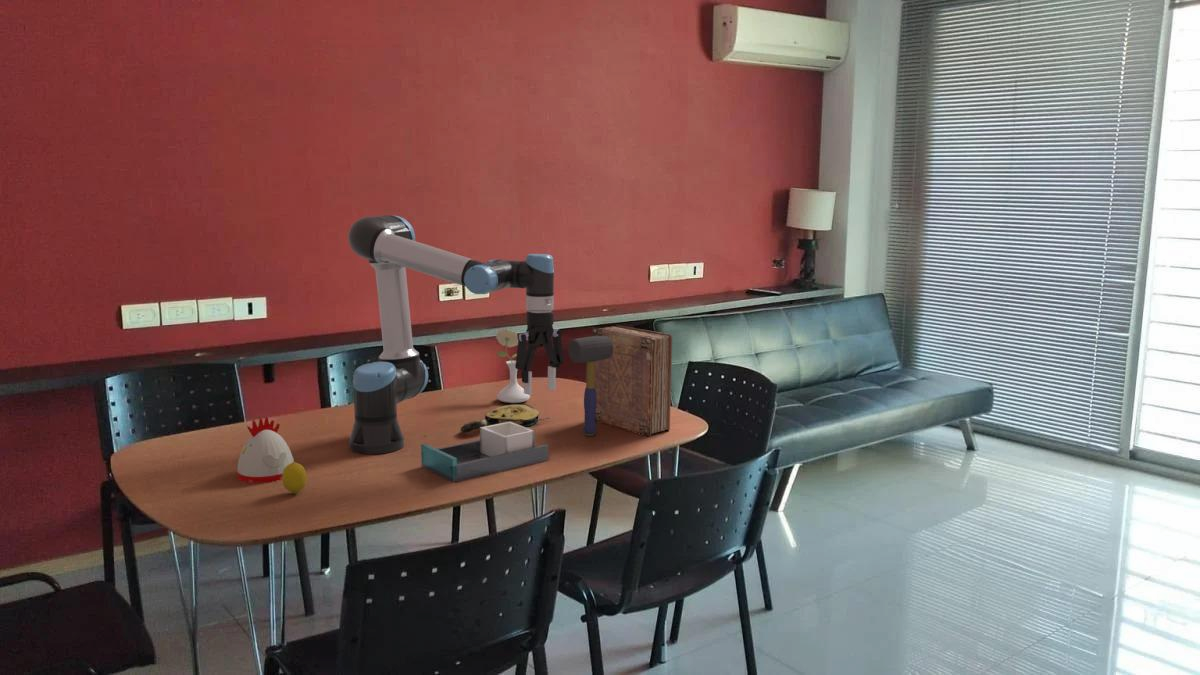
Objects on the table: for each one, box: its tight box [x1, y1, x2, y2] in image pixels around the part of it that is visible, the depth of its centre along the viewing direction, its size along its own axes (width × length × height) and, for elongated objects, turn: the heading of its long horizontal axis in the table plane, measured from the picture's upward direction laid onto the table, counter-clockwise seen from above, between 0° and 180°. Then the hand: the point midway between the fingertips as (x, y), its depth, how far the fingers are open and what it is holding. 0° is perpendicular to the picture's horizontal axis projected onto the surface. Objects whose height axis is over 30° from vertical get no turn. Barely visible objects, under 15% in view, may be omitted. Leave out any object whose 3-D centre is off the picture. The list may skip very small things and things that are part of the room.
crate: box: [479, 422, 536, 457], centre depth 246 cm, size 10×12×7 cm
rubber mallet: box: [567, 336, 613, 437], centre depth 267 cm, size 12×8×30 cm, turn 124°
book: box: [591, 324, 673, 437], centre depth 278 cm, size 25×9×30 cm, turn 44°
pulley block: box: [459, 402, 550, 433], centre depth 278 cm, size 14×6×30 cm
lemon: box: [281, 461, 308, 495], centre depth 217 cm, size 6×6×8 cm
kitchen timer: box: [236, 416, 295, 484], centre depth 230 cm, size 14×14×15 cm
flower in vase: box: [495, 328, 531, 404], centre depth 307 cm, size 13×11×25 cm
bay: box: [420, 439, 549, 483], centre depth 242 cm, size 30×16×6 cm, turn 130°
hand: (539, 391), depth 251 cm, fingers open, 8 cm apart
